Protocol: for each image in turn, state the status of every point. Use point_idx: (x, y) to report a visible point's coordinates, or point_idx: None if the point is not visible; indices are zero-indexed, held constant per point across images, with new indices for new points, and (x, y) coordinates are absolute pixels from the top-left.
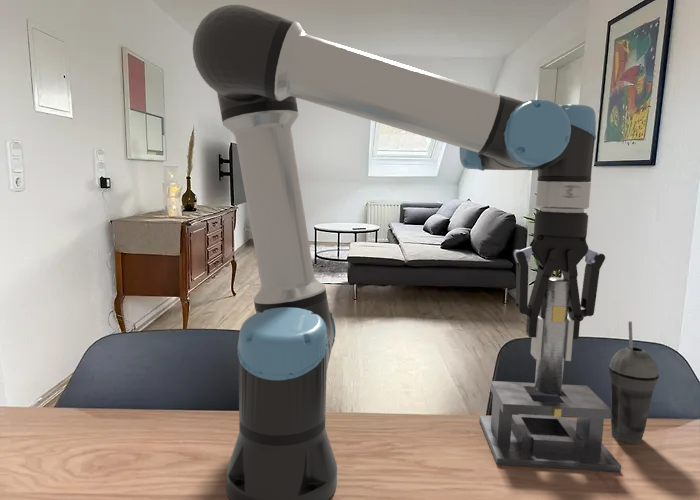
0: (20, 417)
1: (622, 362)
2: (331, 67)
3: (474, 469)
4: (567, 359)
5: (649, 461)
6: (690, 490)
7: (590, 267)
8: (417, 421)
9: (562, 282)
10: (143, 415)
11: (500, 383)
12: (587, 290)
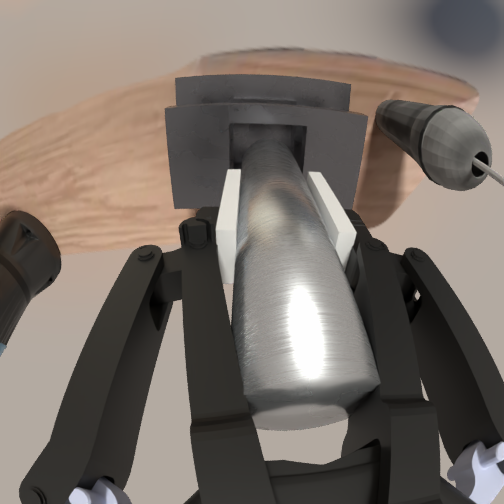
0: None
1: (439, 167)
2: None
3: (159, 206)
4: None
5: (381, 174)
6: (381, 223)
7: (454, 445)
8: (90, 105)
9: (303, 426)
10: None
11: (182, 117)
12: (421, 359)
